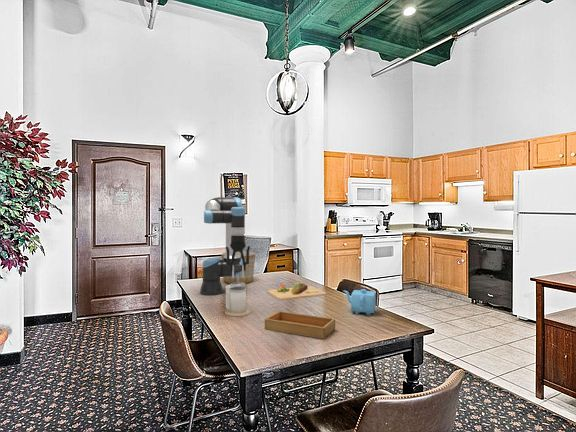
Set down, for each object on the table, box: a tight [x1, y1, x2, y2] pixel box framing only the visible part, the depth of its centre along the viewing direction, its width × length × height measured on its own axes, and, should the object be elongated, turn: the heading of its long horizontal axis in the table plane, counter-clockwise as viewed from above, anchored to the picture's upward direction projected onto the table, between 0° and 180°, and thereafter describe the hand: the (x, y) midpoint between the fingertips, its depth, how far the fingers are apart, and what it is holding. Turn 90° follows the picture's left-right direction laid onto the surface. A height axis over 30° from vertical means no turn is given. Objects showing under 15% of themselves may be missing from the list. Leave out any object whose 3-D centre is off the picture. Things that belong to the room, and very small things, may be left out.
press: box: [224, 286, 251, 317], centre depth 203 cm, size 14×14×13 cm
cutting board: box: [266, 282, 328, 301], centre depth 248 cm, size 35×23×8 cm
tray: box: [264, 310, 336, 340], centre depth 177 cm, size 31×15×6 cm, turn 63°
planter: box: [220, 251, 256, 285], centre depth 285 cm, size 26×26×22 cm
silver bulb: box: [229, 265, 246, 287], centre depth 202 cm, size 8×8×11 cm
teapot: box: [343, 288, 377, 316], centre depth 206 cm, size 18×16×13 cm
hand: (237, 276), depth 202 cm, fingers closed on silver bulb, 5 cm apart
